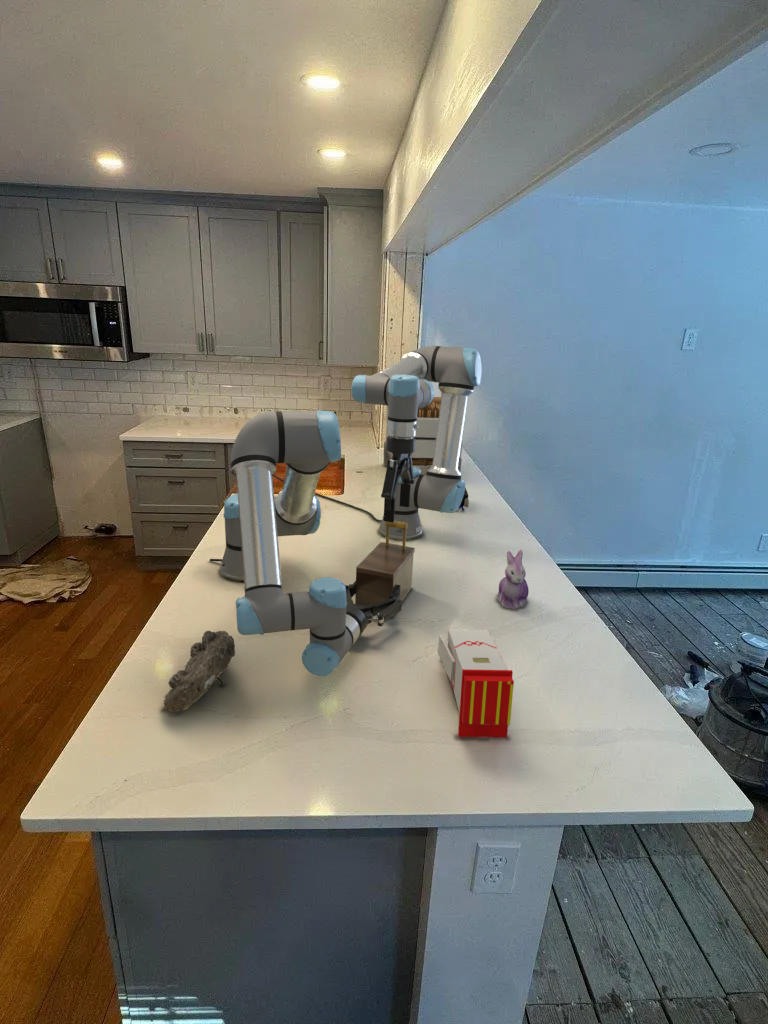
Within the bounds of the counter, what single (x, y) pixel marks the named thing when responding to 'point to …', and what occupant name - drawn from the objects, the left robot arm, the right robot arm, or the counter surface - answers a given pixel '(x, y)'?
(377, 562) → the lid
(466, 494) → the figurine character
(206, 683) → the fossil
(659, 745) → the counter surface
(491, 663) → the toy
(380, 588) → the chest
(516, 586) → the figurine
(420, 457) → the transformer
